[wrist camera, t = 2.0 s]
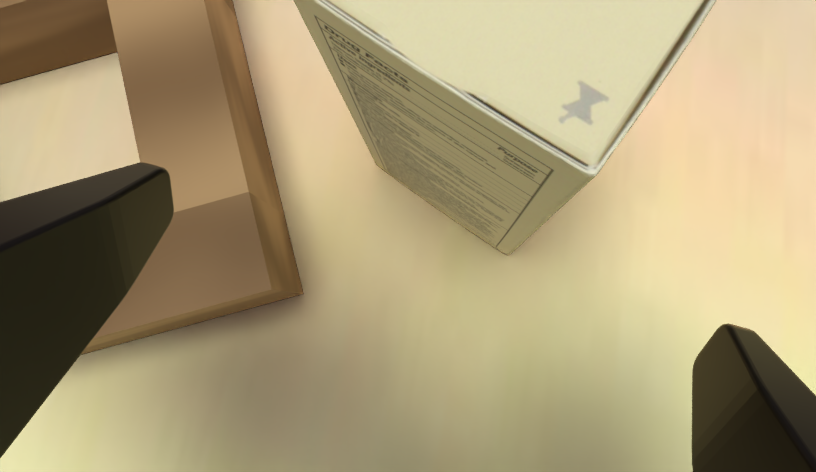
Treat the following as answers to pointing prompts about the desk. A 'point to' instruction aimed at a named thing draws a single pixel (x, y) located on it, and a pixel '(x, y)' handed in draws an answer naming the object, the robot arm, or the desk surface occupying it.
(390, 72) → the skincare box
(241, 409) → the desk surface
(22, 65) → the frame
